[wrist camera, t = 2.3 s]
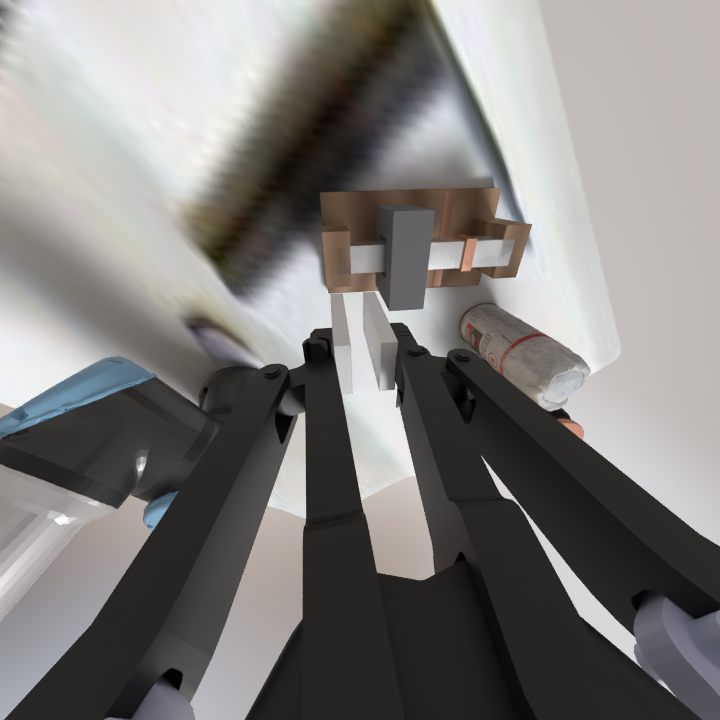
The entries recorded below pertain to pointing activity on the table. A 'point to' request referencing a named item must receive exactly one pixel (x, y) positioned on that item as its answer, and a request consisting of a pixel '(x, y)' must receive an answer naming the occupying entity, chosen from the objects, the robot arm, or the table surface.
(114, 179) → the table surface
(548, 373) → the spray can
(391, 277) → the tall grey notched block
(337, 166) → the table surface
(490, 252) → the light grey long bar
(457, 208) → the pipe stand
